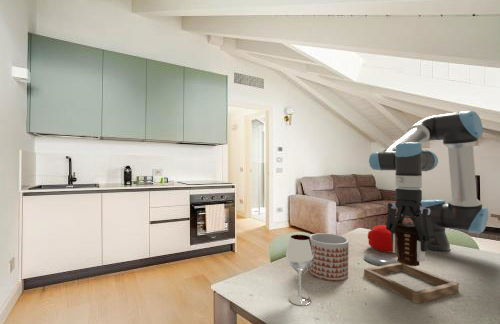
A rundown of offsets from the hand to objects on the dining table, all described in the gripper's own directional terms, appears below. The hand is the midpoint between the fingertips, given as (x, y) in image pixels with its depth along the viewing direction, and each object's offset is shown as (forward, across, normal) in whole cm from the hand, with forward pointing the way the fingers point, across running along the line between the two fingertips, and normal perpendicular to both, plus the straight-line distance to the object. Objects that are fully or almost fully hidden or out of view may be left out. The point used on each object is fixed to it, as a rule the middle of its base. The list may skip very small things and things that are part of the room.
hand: (408, 256), depth 82 cm
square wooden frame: (+9, 0, 0) cm, 9 cm away
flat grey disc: (+9, -18, +9) cm, 22 cm away
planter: (+9, -16, -20) cm, 27 cm away
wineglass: (+9, -4, -40) cm, 41 cm away
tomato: (+9, -28, +22) cm, 37 cm away
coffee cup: (+2, 0, 0) cm, 2 cm away
